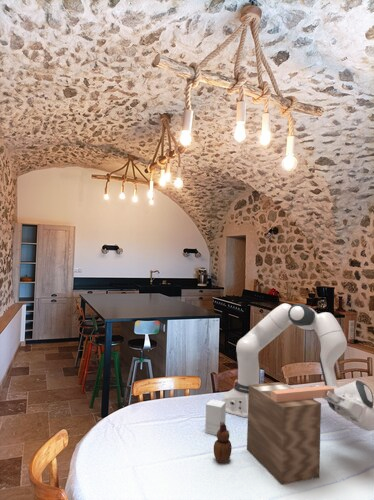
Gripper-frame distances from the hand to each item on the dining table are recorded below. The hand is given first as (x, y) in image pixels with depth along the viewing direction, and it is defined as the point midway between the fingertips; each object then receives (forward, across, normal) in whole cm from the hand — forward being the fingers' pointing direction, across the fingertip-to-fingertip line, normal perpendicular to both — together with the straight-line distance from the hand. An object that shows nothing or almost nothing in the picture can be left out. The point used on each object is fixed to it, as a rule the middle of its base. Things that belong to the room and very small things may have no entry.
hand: (322, 390), depth 135 cm
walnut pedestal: (-2, -6, +31) cm, 32 cm away
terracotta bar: (+7, 0, +6) cm, 9 cm away
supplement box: (+10, -36, +38) cm, 53 cm away
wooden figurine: (+16, -13, +42) cm, 47 cm away
